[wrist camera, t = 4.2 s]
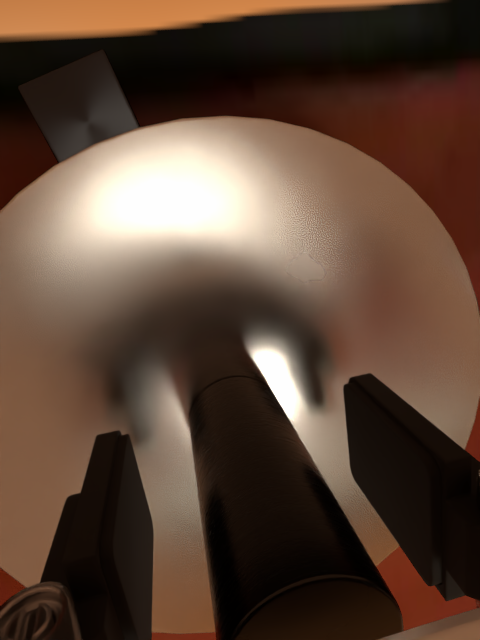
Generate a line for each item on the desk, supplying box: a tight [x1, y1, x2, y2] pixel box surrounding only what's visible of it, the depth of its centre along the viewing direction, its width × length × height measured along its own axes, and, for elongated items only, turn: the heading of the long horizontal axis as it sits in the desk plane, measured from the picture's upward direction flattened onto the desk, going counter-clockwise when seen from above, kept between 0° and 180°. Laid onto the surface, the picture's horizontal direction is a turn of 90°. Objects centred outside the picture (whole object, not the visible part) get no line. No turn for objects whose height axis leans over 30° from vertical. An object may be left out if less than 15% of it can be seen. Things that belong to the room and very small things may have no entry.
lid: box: [0, 115, 480, 640], centre depth 10 cm, size 17×17×8 cm
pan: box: [18, 50, 140, 163], centre depth 16 cm, size 16×21×6 cm
